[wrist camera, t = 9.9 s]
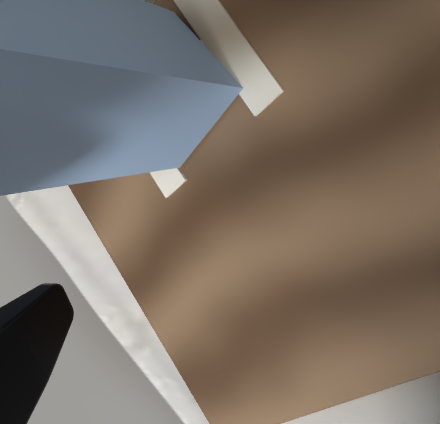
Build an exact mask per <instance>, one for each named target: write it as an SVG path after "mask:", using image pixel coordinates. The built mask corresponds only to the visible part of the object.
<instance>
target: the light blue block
mask: <svg viewBox="0 0 440 424" xmlns="http://www.w3.org/2000/svg"><path fill="white" fill-rule="evenodd" d="M242 89H243V87H242V86H241V85H240V84H239V83H238V82H237V81H236V79H235V78H234V77H233V76H232V75H231V74H230V73H229V72H228V71H227V70H226V68H225V67H224V66H223V65H222V64H221V63H220V62H219V61H218V60H217V59H216V57H215V56H214V55H213V54H212V53H211V52H210V51H209V50H208V49H207V48H206V46H205V45H204V44H203V43H202V42H201V41H200V40H199V39H198V38H197V37H196V35H195V34H194V33H193V32H192V31H191V30H190V29H189V28H188V27H187V26H186V24H185V23H184V22H183V21H182V20H181V19H180V18H179V17H178V16H177V15H176V13H175V12H173V11H170V10H168V9H165V8H162V7H160V6H157V5H155V4H152V3H150V2H147V1H144V0H0V196H1V195H8V194H14V193H21V192H27V191H33V190H40V189H46V188H53V187H59V186H65V185H72V184H78V183H84V182H91V181H97V180H104V179H110V178H116V177H123V176H129V175H136V174H142V173H148V172H155V171H161V170H167V169H174V168H180V167H181V166H182V164H183V163H184V162H185V161H186V159H187V158H188V157H189V156H190V154H191V153H192V152H193V151H194V149H195V148H196V147H197V146H198V144H199V143H200V142H201V141H202V139H203V138H204V137H205V136H206V134H207V133H208V132H209V131H210V129H211V128H212V127H213V126H214V124H215V123H216V122H217V121H218V119H219V118H220V117H221V116H222V114H223V113H224V112H225V111H226V109H227V108H228V107H229V106H230V104H231V103H232V102H233V101H234V99H235V98H236V97H237V96H238V94H239V93H240V92H241V91H242Z"/></svg>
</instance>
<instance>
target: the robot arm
mask: <svg viewBox="0 0 440 424" xmlns="http://www.w3.org/2000/svg"><path fill="white" fill-rule="evenodd" d="M73 315H74V311H73V308H72V305H71V303H70V301H69V299H68V297H67V295H66V292H65V291H64V288H63V287H62V286H61V285H60V284H55V283H44V284H41V285H39V286H37V287H36V288H34V289H32V290H30V291H29V292H27V293H25V294H23V295H22V296H20V297H18V298H16V299H15V300H13V301H11V302H10V303H8V304H6V305H4V306H2V307H1V308H0V424H27V422H28V420H29V418H30V416H31V414H32V412H33V410H34V408H35V406H36V404H37V403H38V401H39V399H40V397H41V395H42V393H43V391H44V389H45V387H46V384H47V382H48V380H49V378H50V375H51V373H52V371H53V368H54V366H55V363H56V361H57V358H58V356H59V353H60V350H61V348H62V346H63V343H64V341H65V338H66V336H67V333H68V330H69V328H70V325H71V323H72V320H73Z"/></svg>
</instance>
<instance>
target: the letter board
mask: <svg viewBox="0 0 440 424" xmlns="http://www.w3.org/2000/svg"><path fill="white" fill-rule="evenodd" d="M154 4H155V5H157V6H160V7H162V8H165V9H168V10H170V11H173V12H175V13H176V15H177V16H178V17H179V18H180V19H181V20H182V21H183V22H184V23H185V24H186V26H187V27H188V28H189V29H190V30H191V31H192V32H193V33H194V34H195V35H196V37H197V38H198V39H199V40H200V41H201V42H202V43H203V44H204V45H205V46H206V48H207V49H208V50H209V51H210V52H211V53H212V54H213V55H214V56H215V57H216V59H217V60H218V61H219V62H220V63H221V64H222V65H223V66H224V67H225V68H226V70H227V71H228V72H229V73H230V74H231V75H232V76H233V77H234V78H235V79H236V81H237V82H238V83H239V84H240V85H241V86H242V87H243V89H242V91H241V92H240V93H239V94H238V96H237V97H236V98H235V99H234V101H233V102H232V103H231V104H230V106H229V107H228V108H227V109H226V111H225V112H224V113H223V114H222V116H221V117H220V118H219V119H218V121H217V122H216V123H215V124H214V126H213V127H212V128H211V129H210V131H209V132H208V133H207V134H206V136H205V137H204V138H203V139H202V141H201V142H200V143H199V144H198V146H197V147H196V148H195V149H194V151H193V152H192V153H191V154H190V156H189V157H188V158H187V159H186V161H185V162H184V163H183V164H182V166H181V167H180V168H174V169H167V170H161V171H155V172H148V173H142V174H136V175H129V176H123V177H116V178H110V179H104V180H97V181H91V182H84V183H78V184H72V185H68V186H69V187H70V189H71V191H72V193H73V194H74V196H75V198H76V199H77V201H78V203H79V204H80V206H81V208H82V209H83V211H84V213H85V214H86V216H87V218H88V220H89V221H90V223H91V225H92V226H93V228H94V230H95V231H96V233H97V235H98V236H99V238H100V240H101V241H102V243H103V245H104V246H105V248H106V250H107V252H108V253H109V255H110V257H111V258H112V260H113V262H114V263H115V265H116V267H117V268H118V270H119V272H120V273H121V275H122V277H123V278H124V280H125V282H126V284H127V285H128V287H129V289H130V290H131V292H132V294H133V295H134V297H135V299H136V300H137V302H138V304H139V305H140V307H141V309H142V311H143V312H144V314H145V316H146V317H147V319H148V321H149V322H150V324H151V326H152V327H153V329H154V331H155V332H156V334H157V336H158V337H159V339H160V341H161V343H162V344H163V346H164V348H165V349H166V351H167V353H168V354H169V356H170V358H171V359H172V361H173V363H174V364H175V366H176V368H177V369H178V371H179V373H180V375H181V376H182V378H183V380H184V381H185V383H186V385H187V386H188V388H189V390H190V391H191V393H192V395H193V396H194V398H195V400H196V402H197V403H198V405H199V407H200V408H201V410H202V412H203V413H204V415H205V417H206V418H207V420H208V422H209V423H210V424H281V423H284V422H287V421H290V420H293V419H296V418H299V417H302V416H305V415H308V414H311V413H314V412H317V411H320V410H324V409H327V408H330V407H333V406H336V405H339V404H342V403H345V402H348V401H351V400H354V399H357V398H360V397H363V396H366V395H369V394H372V393H375V392H378V391H381V390H384V389H387V388H390V387H393V386H396V385H399V384H402V383H405V382H408V381H411V380H414V379H417V378H420V377H423V376H426V375H429V374H432V373H435V372H438V371H440V0H156V2H155V3H154Z"/></svg>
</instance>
